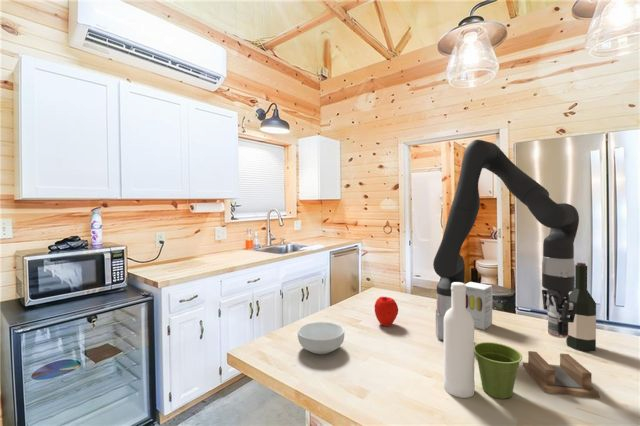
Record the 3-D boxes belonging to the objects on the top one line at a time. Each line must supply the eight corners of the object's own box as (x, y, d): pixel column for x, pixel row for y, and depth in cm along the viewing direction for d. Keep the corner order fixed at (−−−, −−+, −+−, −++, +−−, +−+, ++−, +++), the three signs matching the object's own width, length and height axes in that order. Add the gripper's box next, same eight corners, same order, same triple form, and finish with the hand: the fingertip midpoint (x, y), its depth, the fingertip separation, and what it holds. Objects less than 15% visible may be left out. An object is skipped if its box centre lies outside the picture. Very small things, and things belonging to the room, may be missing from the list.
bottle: (438, 382, 91) (438, 280, 90) (464, 380, 91) (464, 279, 90) (452, 399, 83) (452, 288, 82) (480, 397, 83) (480, 286, 82)
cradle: (544, 392, 85) (544, 372, 85) (522, 365, 99) (522, 348, 99) (599, 397, 82) (599, 377, 82) (569, 369, 96) (569, 352, 96)
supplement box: (461, 323, 133) (460, 285, 133) (469, 318, 140) (469, 281, 139) (484, 330, 126) (484, 289, 126) (493, 324, 133) (493, 285, 132)
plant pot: (466, 378, 92) (466, 341, 92) (508, 380, 91) (508, 342, 91) (483, 404, 81) (483, 361, 80) (531, 406, 79) (532, 363, 79)
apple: (401, 322, 136) (400, 295, 135) (393, 330, 127) (393, 301, 127) (379, 318, 141) (379, 292, 141) (371, 326, 133) (370, 297, 132)
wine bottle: (602, 353, 106) (603, 265, 105) (574, 351, 108) (574, 265, 107) (586, 342, 114) (587, 261, 113) (560, 340, 116) (561, 260, 115)
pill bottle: (564, 332, 92) (564, 304, 91) (571, 339, 87) (571, 310, 87) (545, 331, 93) (545, 303, 93) (551, 337, 89) (551, 308, 88)
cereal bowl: (351, 343, 117) (350, 325, 116) (334, 364, 102) (333, 343, 101) (310, 336, 124) (310, 318, 124) (289, 355, 109) (288, 335, 108)
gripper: (532, 267, 97) (531, 320, 98) (556, 278, 83) (556, 340, 84) (559, 267, 96) (559, 322, 96) (588, 279, 82) (588, 342, 82)
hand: (557, 330), depth 90 cm, fingers closed on pill bottle, 4 cm apart
